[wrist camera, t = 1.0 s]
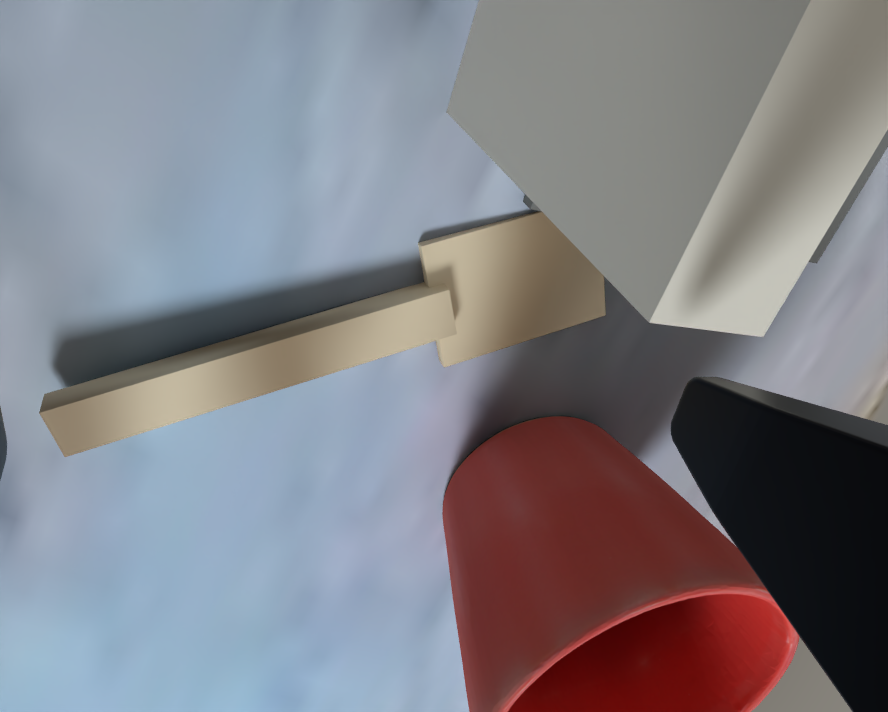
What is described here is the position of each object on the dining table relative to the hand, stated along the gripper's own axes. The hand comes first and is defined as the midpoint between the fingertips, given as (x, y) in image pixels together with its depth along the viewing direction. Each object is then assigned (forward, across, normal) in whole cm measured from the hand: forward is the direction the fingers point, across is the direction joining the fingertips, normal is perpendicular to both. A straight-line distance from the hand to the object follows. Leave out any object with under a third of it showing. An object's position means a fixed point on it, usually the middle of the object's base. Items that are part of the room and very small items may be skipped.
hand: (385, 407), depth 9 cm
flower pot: (+13, +10, -14) cm, 21 cm away
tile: (+12, +5, +5) cm, 14 cm away
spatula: (+12, +2, -6) cm, 14 cm away
